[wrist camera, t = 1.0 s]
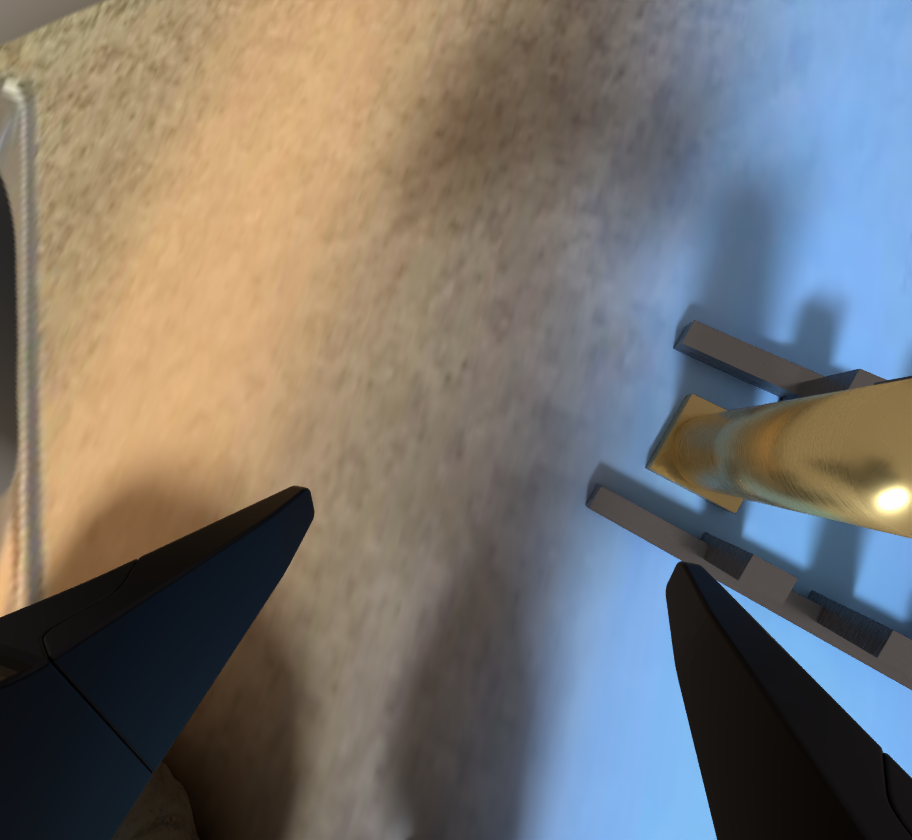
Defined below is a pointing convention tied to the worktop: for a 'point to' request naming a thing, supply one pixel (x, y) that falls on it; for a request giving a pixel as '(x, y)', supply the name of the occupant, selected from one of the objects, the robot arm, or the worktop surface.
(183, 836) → the gourd
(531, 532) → the worktop surface
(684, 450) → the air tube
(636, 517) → the frame
